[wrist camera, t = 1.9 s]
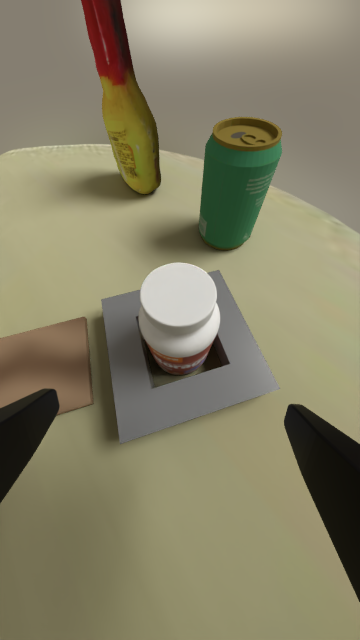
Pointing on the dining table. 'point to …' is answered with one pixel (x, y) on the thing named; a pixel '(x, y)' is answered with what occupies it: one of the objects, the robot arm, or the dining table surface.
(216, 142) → the beverage can
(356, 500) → the robot arm
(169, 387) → the holder
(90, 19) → the bottle
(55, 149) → the dining table surface
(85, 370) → the pad
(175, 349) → the pill bottle
